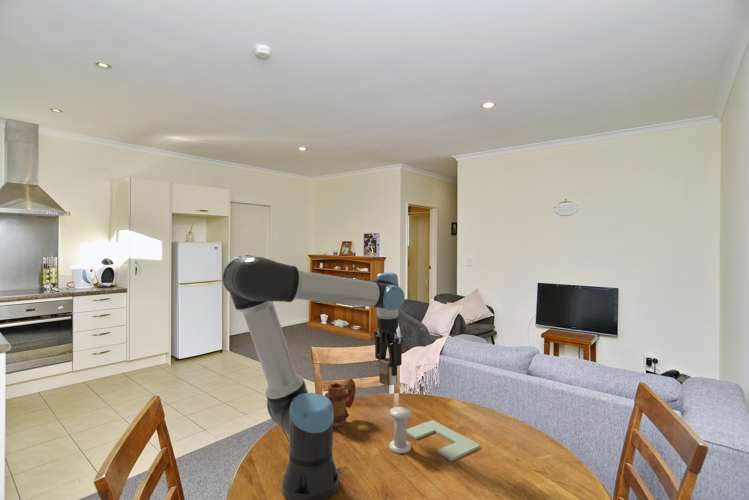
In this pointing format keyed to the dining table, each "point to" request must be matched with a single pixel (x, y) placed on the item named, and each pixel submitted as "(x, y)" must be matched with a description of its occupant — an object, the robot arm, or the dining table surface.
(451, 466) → the dining table surface
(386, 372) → the block
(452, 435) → the notched board
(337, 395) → the mug
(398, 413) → the knob
